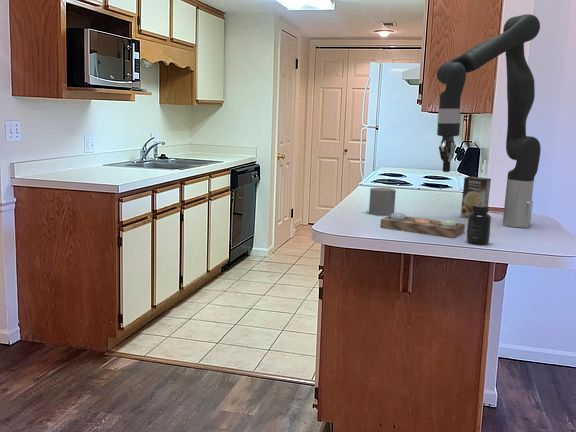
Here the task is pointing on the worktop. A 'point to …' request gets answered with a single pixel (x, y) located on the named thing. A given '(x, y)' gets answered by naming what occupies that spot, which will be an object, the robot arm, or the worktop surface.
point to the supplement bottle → (479, 225)
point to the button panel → (423, 226)
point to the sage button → (448, 223)
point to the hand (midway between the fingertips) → (446, 171)
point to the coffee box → (474, 194)
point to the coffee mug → (382, 201)
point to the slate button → (398, 216)
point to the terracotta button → (422, 221)
